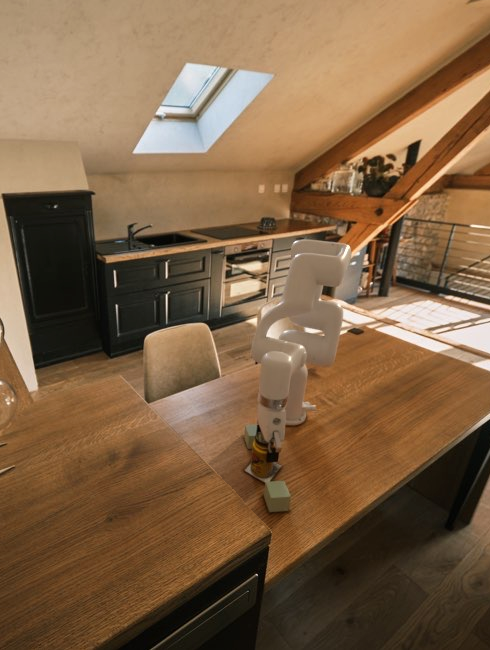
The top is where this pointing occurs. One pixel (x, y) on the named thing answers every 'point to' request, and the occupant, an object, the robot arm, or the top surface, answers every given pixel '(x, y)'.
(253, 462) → the condiment
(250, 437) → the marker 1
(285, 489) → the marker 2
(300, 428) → the top surface
